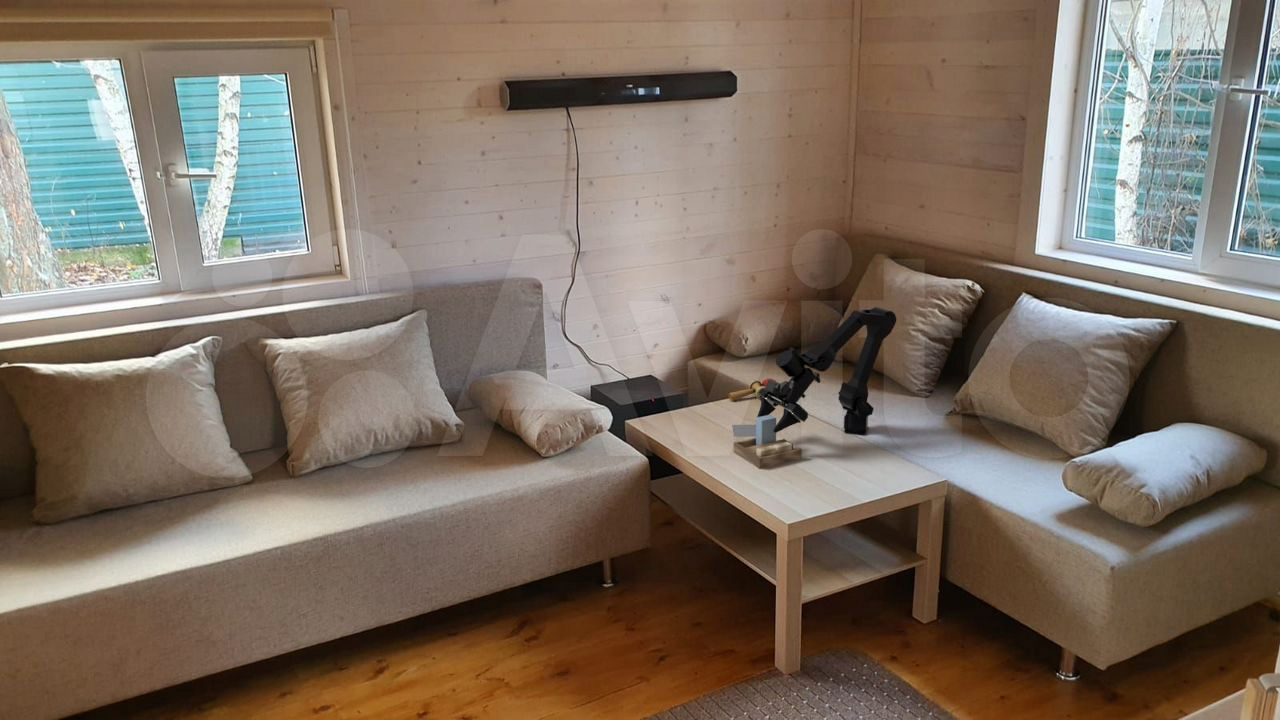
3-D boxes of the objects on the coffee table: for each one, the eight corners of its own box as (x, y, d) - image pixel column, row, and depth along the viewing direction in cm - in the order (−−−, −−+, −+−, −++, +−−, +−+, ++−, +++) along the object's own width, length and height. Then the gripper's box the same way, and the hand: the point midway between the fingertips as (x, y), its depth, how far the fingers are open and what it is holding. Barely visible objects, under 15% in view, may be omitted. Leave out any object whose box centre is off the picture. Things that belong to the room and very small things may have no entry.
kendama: (737, 409, 323) (784, 394, 329) (733, 391, 322) (780, 376, 328) (727, 405, 331) (774, 391, 336) (724, 388, 330) (770, 374, 335)
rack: (774, 444, 289) (774, 433, 288) (801, 460, 277) (801, 449, 276) (733, 454, 283) (733, 442, 282) (759, 470, 271) (759, 458, 270)
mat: (763, 426, 304) (763, 424, 304) (766, 438, 294) (766, 436, 294) (732, 426, 304) (732, 424, 304) (734, 438, 295) (734, 436, 294)
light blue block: (770, 446, 287) (770, 414, 284) (775, 449, 284) (776, 417, 281) (755, 449, 284) (756, 417, 281) (761, 452, 282) (761, 420, 279)
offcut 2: (787, 456, 279) (787, 441, 278) (791, 458, 277) (791, 444, 276) (772, 459, 277) (772, 445, 275) (777, 462, 275) (777, 447, 274)
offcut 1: (770, 459, 277) (771, 445, 275) (775, 462, 275) (775, 447, 273) (756, 463, 274) (756, 448, 273) (760, 466, 273) (760, 451, 271)
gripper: (764, 361, 287) (732, 402, 286) (800, 378, 271) (767, 422, 270) (785, 382, 293) (754, 422, 292) (822, 400, 277) (789, 443, 276)
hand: (765, 426), depth 282 cm, fingers open, 9 cm apart
